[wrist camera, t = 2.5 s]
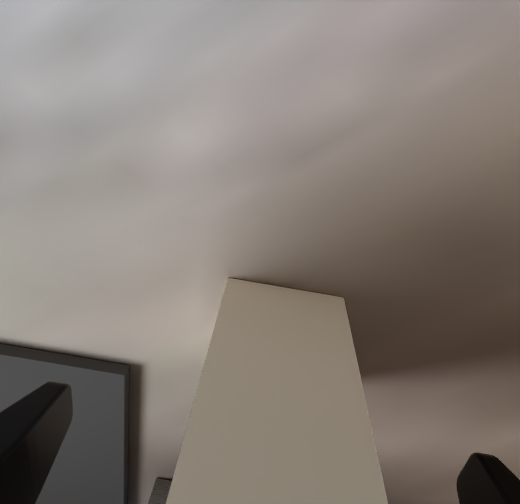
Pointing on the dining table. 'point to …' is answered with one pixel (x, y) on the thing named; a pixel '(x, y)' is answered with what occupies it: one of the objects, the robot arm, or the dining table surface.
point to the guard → (160, 491)
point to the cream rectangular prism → (279, 407)
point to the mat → (78, 422)
